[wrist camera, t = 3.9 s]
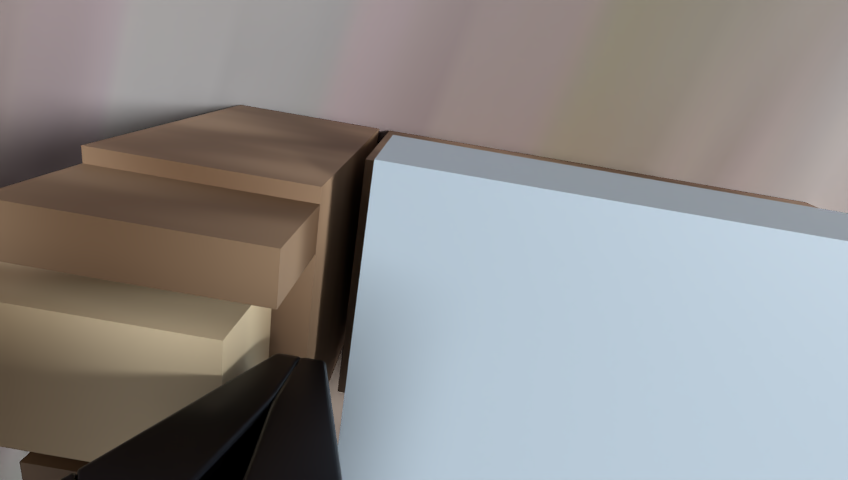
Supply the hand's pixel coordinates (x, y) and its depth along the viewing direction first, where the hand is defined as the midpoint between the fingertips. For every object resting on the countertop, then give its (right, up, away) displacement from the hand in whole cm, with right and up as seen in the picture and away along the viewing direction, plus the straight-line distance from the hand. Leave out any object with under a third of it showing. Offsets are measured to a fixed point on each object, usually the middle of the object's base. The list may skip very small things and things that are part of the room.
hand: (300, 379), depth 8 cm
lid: (+6, 0, +3) cm, 7 cm away
